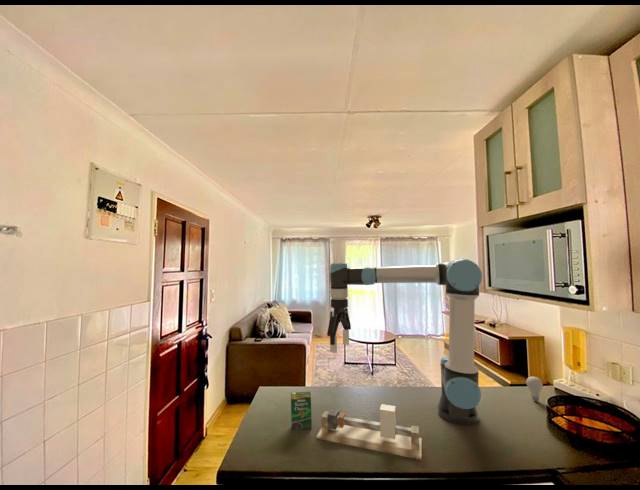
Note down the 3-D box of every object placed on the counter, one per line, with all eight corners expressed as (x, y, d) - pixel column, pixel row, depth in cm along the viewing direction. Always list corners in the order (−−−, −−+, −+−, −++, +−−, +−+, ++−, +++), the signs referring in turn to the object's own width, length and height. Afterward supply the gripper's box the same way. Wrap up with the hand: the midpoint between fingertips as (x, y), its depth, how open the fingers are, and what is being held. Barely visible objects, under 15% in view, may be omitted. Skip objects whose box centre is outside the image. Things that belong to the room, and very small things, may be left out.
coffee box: (290, 430, 110) (290, 394, 111) (290, 426, 113) (290, 391, 114) (311, 429, 111) (311, 394, 112) (311, 425, 114) (311, 391, 115)
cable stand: (421, 440, 104) (421, 418, 104) (421, 459, 93) (420, 435, 94) (326, 423, 116) (325, 403, 116) (316, 438, 105) (316, 417, 106)
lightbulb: (547, 404, 130) (545, 379, 131) (533, 404, 130) (532, 379, 131) (537, 398, 136) (535, 374, 137) (524, 398, 136) (522, 374, 137)
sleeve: (396, 432, 103) (395, 406, 104) (395, 439, 100) (394, 411, 100) (381, 430, 105) (381, 404, 106) (380, 436, 101) (379, 409, 102)
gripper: (342, 295, 139) (343, 340, 138) (318, 301, 117) (319, 355, 115) (357, 296, 136) (358, 342, 134) (335, 301, 114) (336, 357, 112)
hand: (340, 348), depth 125 cm, fingers open, 13 cm apart
